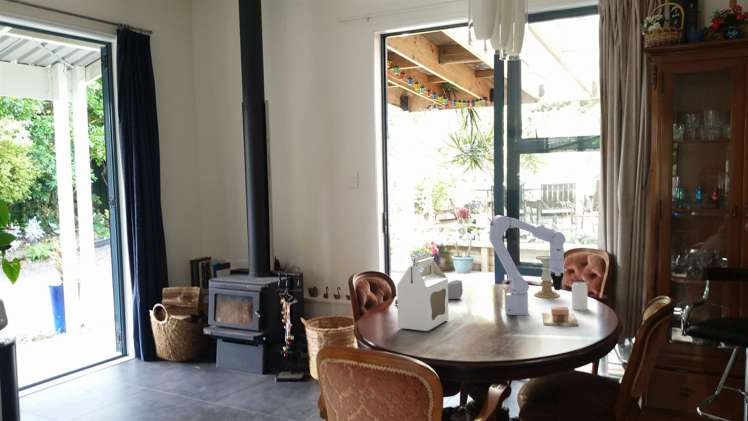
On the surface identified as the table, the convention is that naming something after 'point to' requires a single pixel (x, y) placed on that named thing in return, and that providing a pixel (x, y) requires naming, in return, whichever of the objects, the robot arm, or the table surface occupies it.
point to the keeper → (560, 312)
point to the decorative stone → (455, 289)
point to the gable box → (422, 296)
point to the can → (579, 296)
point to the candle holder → (546, 280)
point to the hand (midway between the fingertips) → (557, 289)
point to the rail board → (559, 320)
